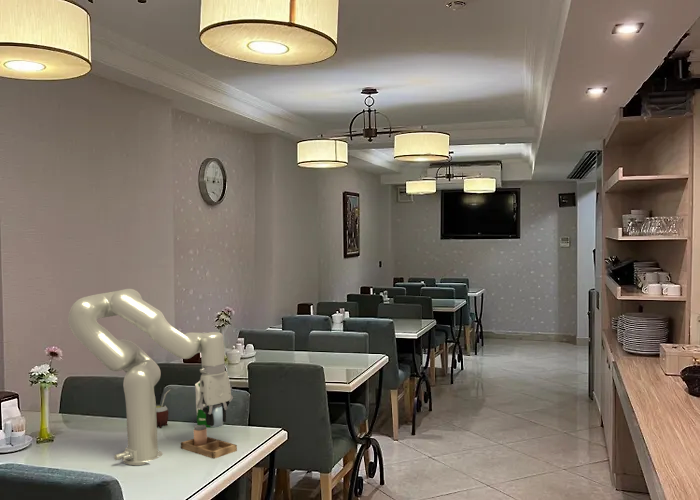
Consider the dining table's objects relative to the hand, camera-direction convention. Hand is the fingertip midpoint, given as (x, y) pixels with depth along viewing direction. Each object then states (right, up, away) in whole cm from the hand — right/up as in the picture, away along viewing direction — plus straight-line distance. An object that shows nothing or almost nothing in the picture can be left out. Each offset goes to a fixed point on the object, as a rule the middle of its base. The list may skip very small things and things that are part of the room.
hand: (216, 422), depth 222 cm
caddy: (-3, -11, +3) cm, 12 cm away
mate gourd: (-30, -12, +38) cm, 50 cm away
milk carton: (-10, -11, +34) cm, 37 cm away
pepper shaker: (-7, -10, +6) cm, 13 cm away
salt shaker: (0, -1, 0) cm, 1 cm away
